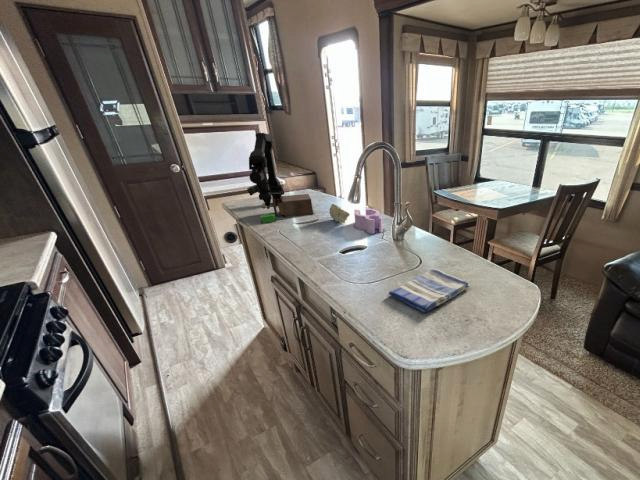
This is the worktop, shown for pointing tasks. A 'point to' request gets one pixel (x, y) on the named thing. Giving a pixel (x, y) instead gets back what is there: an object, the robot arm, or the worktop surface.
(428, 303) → the dish towel
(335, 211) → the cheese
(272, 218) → the green rectangular box
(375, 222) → the clip
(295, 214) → the cabinet
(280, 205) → the drawer
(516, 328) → the worktop surface
